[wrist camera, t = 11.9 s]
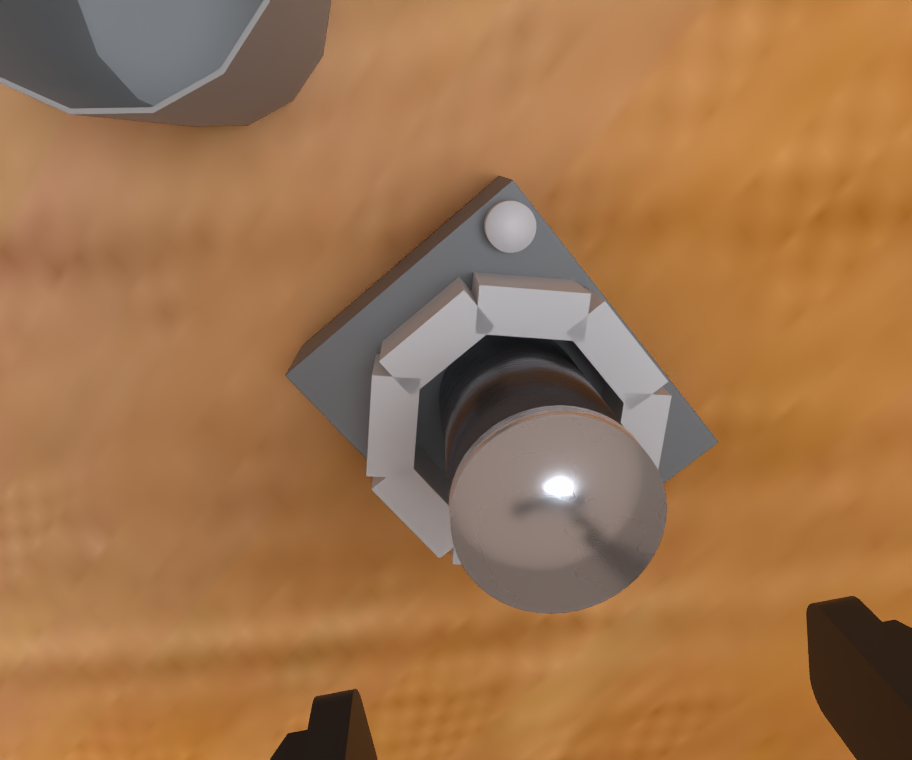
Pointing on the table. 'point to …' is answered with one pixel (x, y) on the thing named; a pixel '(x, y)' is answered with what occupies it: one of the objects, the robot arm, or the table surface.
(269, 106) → the cup
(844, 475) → the table surface
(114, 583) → the table surface
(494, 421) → the lens
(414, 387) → the grey block with ring
